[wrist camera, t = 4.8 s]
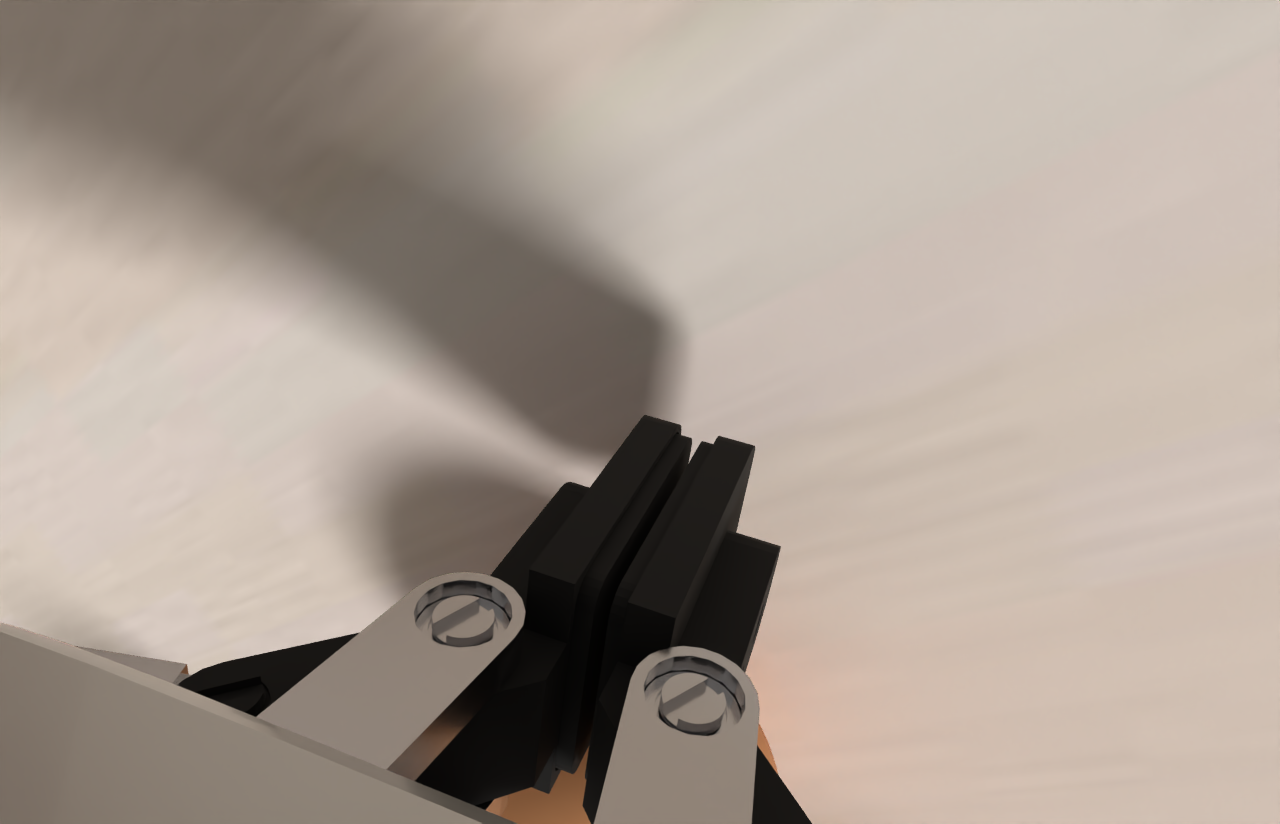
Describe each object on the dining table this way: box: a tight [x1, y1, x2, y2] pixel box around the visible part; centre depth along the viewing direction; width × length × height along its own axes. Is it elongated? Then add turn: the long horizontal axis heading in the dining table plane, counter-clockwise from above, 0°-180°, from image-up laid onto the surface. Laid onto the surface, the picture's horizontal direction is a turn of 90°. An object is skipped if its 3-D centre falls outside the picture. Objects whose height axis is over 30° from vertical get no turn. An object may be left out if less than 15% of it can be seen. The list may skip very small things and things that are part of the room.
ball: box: [501, 724, 778, 824], centre depth 14 cm, size 6×6×6 cm
